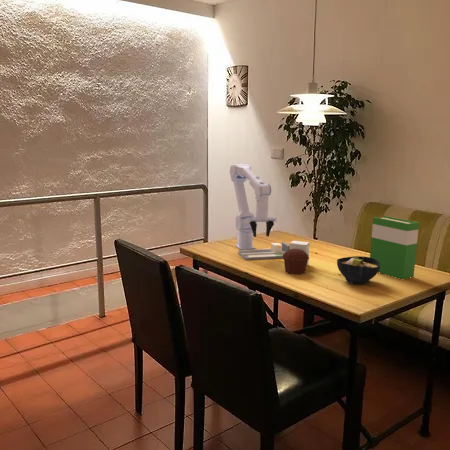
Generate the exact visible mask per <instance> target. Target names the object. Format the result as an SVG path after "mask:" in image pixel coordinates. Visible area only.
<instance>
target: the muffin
mask: <svg viewBox="0 0 450 450" xmlns="http://www.w3.org/2000/svg"><path fill="white" fill-rule="evenodd" d="M282 257H283V258H282V259H283V263H284V272H285V273H286V274H289V275H294V276H296V275H304V274H305V273H306V270H307V267H308V265H307V261H308V259H310V255H309V256H308V254H307V253H306V252H304V251H303V250H301V249H289V250H287V251H286V252H285V253H284V254H283V256H282Z"/></svg>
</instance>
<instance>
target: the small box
mask: <svg viewBox="0 0 450 450" xmlns="http://www.w3.org/2000/svg"><path fill="white" fill-rule="evenodd" d="M289 245H290V247H289V249H301V250H303V251H304V252H306V253H307V254H308V256H309V257H310V242H309V241H300V240H292V241H291V242H289ZM309 259H310V258H309ZM309 259H308V261H307V266H309V264H310V263H309Z"/></svg>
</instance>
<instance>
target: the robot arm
mask: <svg viewBox="0 0 450 450" xmlns="http://www.w3.org/2000/svg"><path fill="white" fill-rule="evenodd" d="M229 174H230V179H231V182H232V183H233V187H234V191H235V197H236V200H237V202H236V203H237V206H238V212H239V214H237V215H236V216H235V228H236V230H237V238H236V239H237V243H236V244H235V246H236V248H238V249H239V250H250V249H256V247H254V246H253V241H254V240H253V239H254V238H257V228H258V227H257V226H258V223H263V222H264V223H265V224H266V225H265V226H266V230H265V234H266V235H265V236H266V237H270V233H271V230H272V229H273V226H274V225H275V223H276V222H277V217H273V216H269V199H270V198H269V196H271V194H272V186H271V185H270V183H265V182H264V181H263V180H262V179H261V177H260V175H255V174H254V173H253V171H252V166H251V164H250V163H246V164H245V163H239V164H238V163H232V164H231V165H230V168H229ZM247 181H249V183H248V184H249V185H250V186H251V187H252V189H253V190H254V195H255V200H256V203H255V205H256V206H255V207H256V209H255V211H256V212H255V214H253V212H251V211H250V208H249V204H248V200H247V199H248V198H247V193H246V188H245V184H244V183H246V182H247ZM253 237H254V238H253Z"/></svg>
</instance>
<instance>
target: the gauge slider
mask: <svg viewBox="0 0 450 450" xmlns="http://www.w3.org/2000/svg"><path fill="white" fill-rule="evenodd" d="M270 249H271V251H272V252H282V243H280V242H271V243H270Z"/></svg>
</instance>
